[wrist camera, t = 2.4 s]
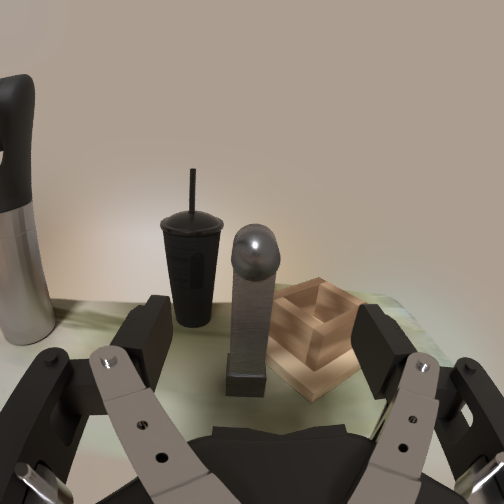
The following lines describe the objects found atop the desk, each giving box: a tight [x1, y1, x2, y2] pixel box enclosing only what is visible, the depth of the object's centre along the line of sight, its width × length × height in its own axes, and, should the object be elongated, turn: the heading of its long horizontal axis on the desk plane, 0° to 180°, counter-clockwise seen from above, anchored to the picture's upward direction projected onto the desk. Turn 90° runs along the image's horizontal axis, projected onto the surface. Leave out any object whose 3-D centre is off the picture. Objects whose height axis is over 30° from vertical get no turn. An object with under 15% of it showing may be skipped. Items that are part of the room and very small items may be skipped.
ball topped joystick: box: [226, 224, 280, 397], centre depth 25 cm, size 4×3×17 cm
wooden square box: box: [265, 277, 368, 403], centre depth 34 cm, size 14×14×6 cm
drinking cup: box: [160, 169, 224, 328], centre depth 36 cm, size 8×8×20 cm
